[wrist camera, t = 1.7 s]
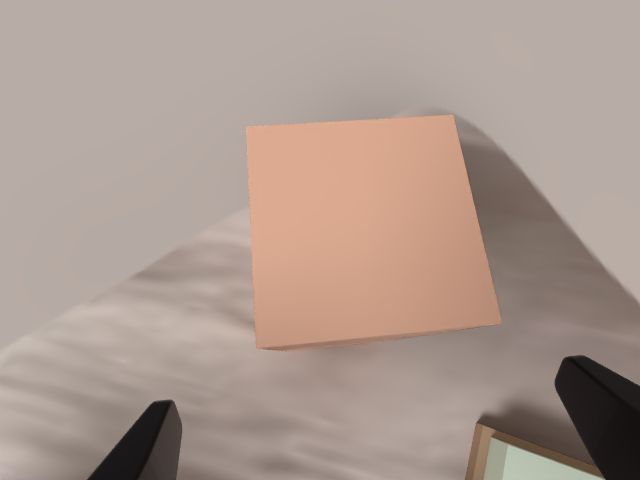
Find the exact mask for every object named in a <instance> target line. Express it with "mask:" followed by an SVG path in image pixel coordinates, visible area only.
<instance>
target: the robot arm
mask: <svg viewBox="0 0 640 480" xmlns="http://www.w3.org/2000/svg"><path fill="white" fill-rule="evenodd" d="M555 388H556V391H557V393H558V395H559V397H560V399H561V401H562V403H563V405H564V407H565V408H566V410H567V412H568V414H569V416H570V418H571V420H572V422H573V424H574V426H575V428H576V430H577V432H578V433H579V435H580V437H581V439H582V441H583V443H584V445H585V447H586V449H587V450H588V452H589V454H590V456H591V458H592V459H593V461H594V463H595V464H596V466H597V467H598V469H599V471H600V472H601V474H602V475H603V477H604V478H605V480H640V386H639V385H637V384H635V383H633V382H631V381H630V380H628V379H626V378H624V377H622V376H621V375H619V374H617V373H615V372H613V371H611V370H610V369H608V368H606V367H604V366H602V365H601V364H599V363H597V362H595V361H593V360H591V359H590V358H588V357H586V356H582V355H578V356H568V357H565V358H564V359H563V360H562V363H561V365H560V368H559V370H558V373H557V375H556V378H555ZM181 437H182V423H181V420H180V417H179V414H178V411H177V408H176V405H175V403H174V401H173V400H161V401H155V402H153V403H152V404H150V406H149V407H148V408H147V409H146V410H145V411H144V413H143V414H142V415H141V416H140V417H139V419H138V420H137V421H136V422H135V423H134V425H133V426H132V427H131V428H130V429H129V430H128V432H127V433H126V434H125V435H124V436H123V438H122V439H121V440H120V441H119V442H118V444H117V445H116V446H115V447H114V448H113V449H112V451H111V452H110V453H109V454H108V455H107V457H106V458H105V459H104V460H103V461H102V463H101V464H100V465H99V466H98V467H97V468H96V470H95V471H94V472H93V473H92V474H91V476H90V477H89V478H88V479H87V480H176V476H177V468H178V460H179V453H180V445H181Z"/></svg>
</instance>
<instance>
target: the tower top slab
mask: <svg viewBox="0 0 640 480" xmlns="http://www.w3.org/2000/svg"><path fill="white" fill-rule="evenodd" d="M483 480H605V478H602V477H599V476H597V475H594V474H591V473H588V472H586V471H583V470H580V469H577V468H575V467H572V466H569V465H566V464H564V463H561V462H558V461H555V460H553V459H550V458H547V457H544V456H542V455H539V454H536V453H533V452H531V451H528V450H525V449H522V448H520V447H517V446H514V445H511V444H509V443H506V442H503V441H500V440H498V439H495V438H492V437H491V439H490V445H489V450H488V456H487V461H486V467H485V473H484V478H483Z"/></svg>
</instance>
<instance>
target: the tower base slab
mask: <svg viewBox="0 0 640 480" xmlns="http://www.w3.org/2000/svg"><path fill="white" fill-rule="evenodd" d="M491 437H492V438H495V439H498V440H500V441H503V442H506V443H509V444H511V445H514V446H517V447H520V448H522V449H525V450H528V451H531V452H533V453H536V454H539V455H542V456H544V457H547V458H550V459H553V460H555V461H558V462H561V463H564V464H566V465H569V466H572V467H575V468H577V469H580V470H583V471H586V472H588V473H591V474H594V475H597V476H599V477H602V478H604V477H603V475H602V474H601V472H600V471H599V469H598V467H595V466H593V465H590V464H587V463H585V462H582V461H579V460H576V459H574V458H571V457H568V456H566V455H563V454H560V453H557V452H555V451H552V450H549V449H547V448H544V447H541V446H538V445H536V444H533V443H530V442H528V441H525V440H522V439H519V438H517V437H514V436H511V435H509V434H506V433H503V432H500V431H498V430H495V429H492V428H490V427H487V426H484V425H481V424H479V423H476V427H475V432H474V437H473V442H472V447H471V452H470V457H469V462H468V467H467V473H466V478H465V480H483V478H484V473H485V467H486V461H487V456H488V450H489V445H490V439H491Z"/></svg>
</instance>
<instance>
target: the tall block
mask: <svg viewBox="0 0 640 480" xmlns="http://www.w3.org/2000/svg"><path fill="white" fill-rule="evenodd" d="M246 134H247V156H248V178H249V199H250V200H249V201H250V223H251V245H252V268H253V290H254V312H255V334H256V348H259V349H268V350H277V351H294V350H304V349H314V348H324V347H334V346H344V345H354V344H364V343H373V342H383V341H390V340H396V339H403V338H410V337H416V336H423V335H430V334H437V333H443V332H450V331H457V330H463V329H470V328H477V327H483V326H490V325H497V324H502V320H501V316H500V311H499V307H498V303H497V299H496V295H495V290H494V286H493V282H492V278H491V273H490V269H489V265H488V261H487V256H486V252H485V248H484V244H483V239H482V235H481V231H480V227H479V222H478V218H477V214H476V210H475V205H474V201H473V197H472V193H471V188H470V184H469V180H468V176H467V171H466V167H465V163H464V159H463V154H462V150H461V146H460V142H459V137H458V133H457V129H456V125H455V120H454V116H453V115H439V116H422V117H405V118H387V119H371V120H353V121H338V122H337V121H336V122H320V123H303V124H286V125H268V126H250V127H246Z"/></svg>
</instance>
